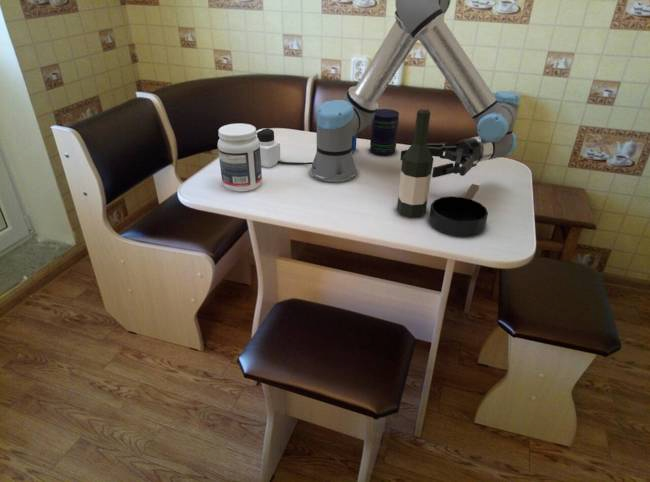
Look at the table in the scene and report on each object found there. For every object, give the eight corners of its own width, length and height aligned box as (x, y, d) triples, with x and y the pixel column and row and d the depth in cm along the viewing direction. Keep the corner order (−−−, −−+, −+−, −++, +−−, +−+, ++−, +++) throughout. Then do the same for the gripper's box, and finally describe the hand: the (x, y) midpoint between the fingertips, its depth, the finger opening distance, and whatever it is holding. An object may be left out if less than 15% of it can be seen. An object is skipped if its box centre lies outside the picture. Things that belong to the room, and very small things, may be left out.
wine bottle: (425, 219, 128) (441, 114, 112) (395, 216, 130) (407, 112, 114) (425, 206, 135) (440, 105, 119) (397, 203, 137) (408, 103, 121)
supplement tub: (245, 173, 154) (241, 119, 145) (270, 184, 147) (267, 129, 137) (214, 184, 146) (207, 128, 137) (238, 197, 139) (233, 139, 129)
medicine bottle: (281, 161, 163) (279, 129, 157) (268, 168, 158) (266, 134, 152) (265, 157, 166) (263, 125, 160) (252, 163, 161) (250, 130, 155)
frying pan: (476, 242, 118) (480, 227, 116) (421, 227, 125) (423, 213, 122) (497, 203, 138) (501, 189, 135) (449, 192, 144) (451, 178, 141)
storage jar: (365, 153, 171) (368, 114, 163) (374, 145, 179) (377, 107, 171) (391, 158, 168) (395, 118, 160) (398, 149, 175) (402, 111, 167)
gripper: (503, 177, 127) (446, 193, 118) (441, 149, 145) (388, 161, 136) (509, 152, 123) (450, 166, 114) (445, 126, 141) (390, 137, 132)
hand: (416, 163), depth 125 cm, fingers open, 13 cm apart
